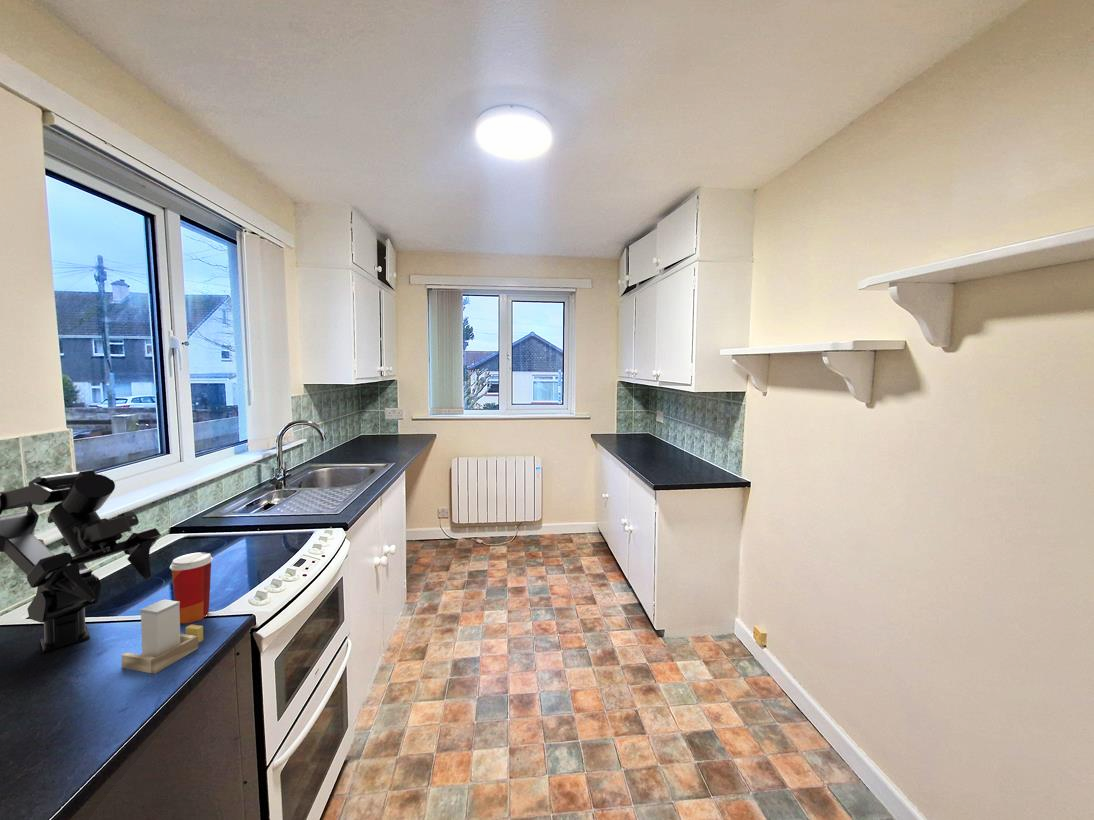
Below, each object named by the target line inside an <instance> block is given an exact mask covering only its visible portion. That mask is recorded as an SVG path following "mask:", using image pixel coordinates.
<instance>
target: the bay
mask: <svg viewBox="0 0 1094 820" xmlns="http://www.w3.org/2000/svg"><path fill="white" fill-rule="evenodd" d="M198 649H199V643H198V636H193V635H187V634H186V633H180V644H179V645H177V646H175V647H174V648H172V649H170V650H168V651H166V652H165V653H163V654H161V655H159V656H157V657H150V656H144V655H142V654H137V653H132V652H124V653H122V654H121V668H122V669H126V670H127V669H128V670H132V671H138V672H142V673H148V674H157V673H159V672H160V671H162V670H164V669H165V668H166V667H169V666H170V665H172V664H173V663H174V664H175V663H176V662H178V661H179V660H181V659H183V658H184V657H185V656H188V655H189V654H191V653H193V652H194V651H196V650H198Z"/></svg>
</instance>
